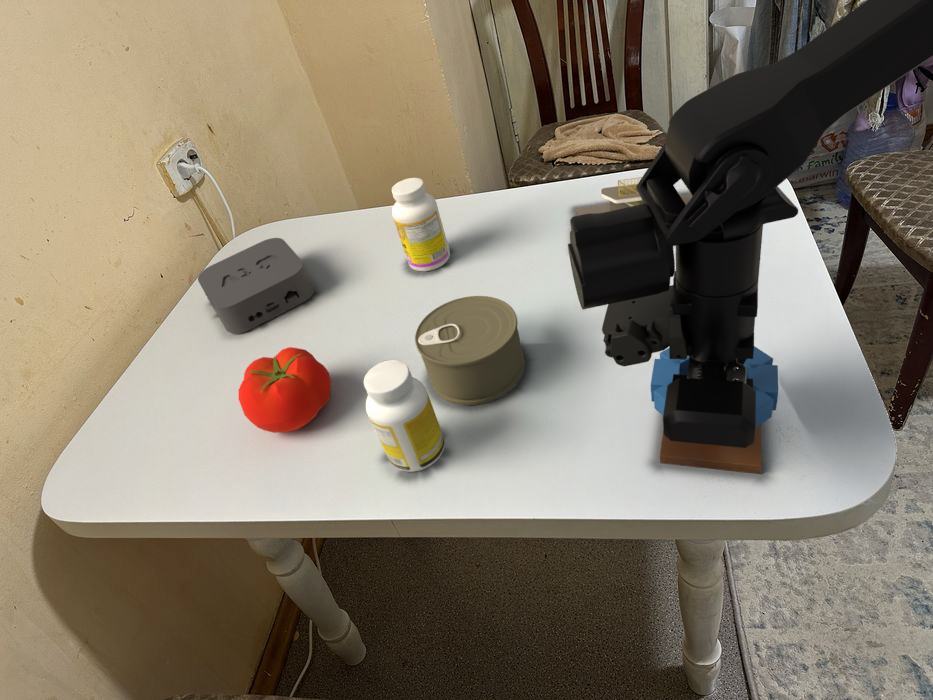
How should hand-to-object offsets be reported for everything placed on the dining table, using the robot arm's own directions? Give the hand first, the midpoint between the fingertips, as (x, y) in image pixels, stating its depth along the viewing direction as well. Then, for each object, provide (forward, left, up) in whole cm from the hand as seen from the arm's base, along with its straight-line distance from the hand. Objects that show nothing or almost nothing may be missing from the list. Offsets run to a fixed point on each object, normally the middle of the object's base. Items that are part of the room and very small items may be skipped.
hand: (711, 417), depth 58 cm
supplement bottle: (+42, -34, -7) cm, 54 cm away
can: (+27, -11, -7) cm, 30 cm away
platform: (+12, -44, -7) cm, 46 cm away
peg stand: (0, -4, -7) cm, 8 cm away
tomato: (+48, -2, -7) cm, 49 cm away
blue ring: (0, -4, -1) cm, 4 cm away
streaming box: (+67, -24, -7) cm, 72 cm away
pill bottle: (+30, +2, -7) cm, 31 cm away
